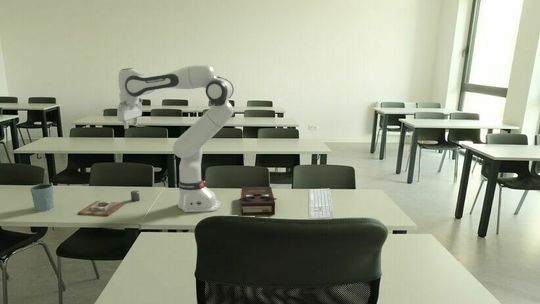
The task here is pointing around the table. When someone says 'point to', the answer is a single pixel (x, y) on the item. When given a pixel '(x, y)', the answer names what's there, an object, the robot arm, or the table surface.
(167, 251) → the table surface
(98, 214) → the board
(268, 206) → the decorative book
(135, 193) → the black cap
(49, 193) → the blue cup
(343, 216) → the table surface
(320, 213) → the keyboard
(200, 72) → the robot arm
